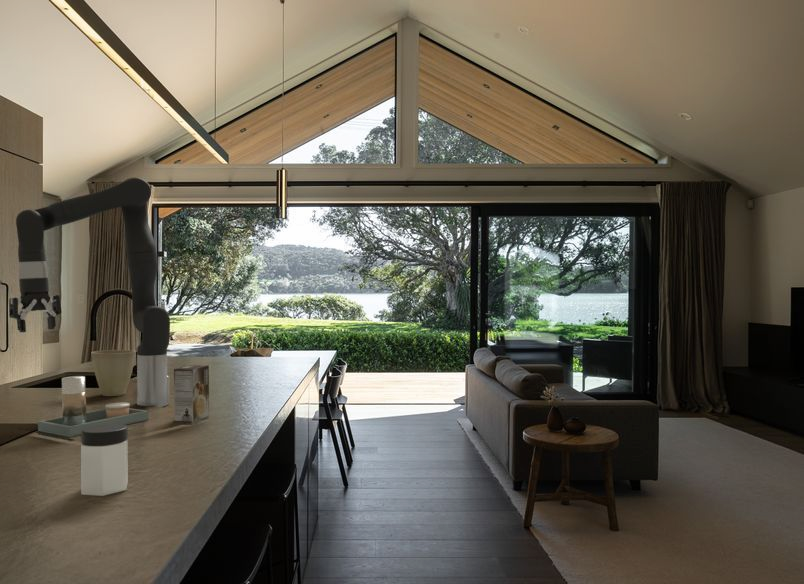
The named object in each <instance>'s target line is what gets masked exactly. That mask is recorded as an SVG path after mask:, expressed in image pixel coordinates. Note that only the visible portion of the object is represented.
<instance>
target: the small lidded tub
mask: <svg viewBox="0 0 804 584" xmlns="http://www.w3.org/2000/svg"><path fill="white" fill-rule="evenodd" d="M130 406H131V403H130V402H125V401H124V402H123V401H122V402H112V403H111V402H110V403H107V404H105V409H106V419H109V418H114V417H119V416H124V415H128V414H129V408H130Z"/></svg>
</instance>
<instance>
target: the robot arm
mask: <svg viewBox="0 0 804 584" xmlns="http://www.w3.org/2000/svg"><path fill="white" fill-rule="evenodd" d="M151 196H152V187H151V186H150V185H149V183H148V182H147V181H146V180H145V179H143V178H139V177H129V178H127V179H125V180H123V182H121V183H118V184H115V185H114V186H112V187H109V188H106V189H103V190H101V191H100V190H99V191H96V192H93V193H92V192H91V193H89V194H84V195H79V196H75V197H71V198H68V199H64V200H59V201H57V202H54V203H51V204H49V205H48V206H47V205H46V206H44V207H41V208H36V209H24V210H22V211H21V212H19V213H18V214H17V216H16V219H15V225H16V232H17V239H18V248H17V252H18V253H17V254H18V280H19V281H18V283H19V292H20V297H10V298H9V299H8V302H9V303H8V304H9V305H8V306H9V307H8V308H9V309H8V311H9V313H8V314H9V315H8V317H9V318H10V319H13V320H14V319H15V320H16V324H17V330H18V331H19V333H26V332H27V326H26V319H25V318H26V317H27V315H28V314H29V313H30V312H36V311H42V312H44V313H45V314H46V316H47V317H46V319H47V329H48V330H54V329H55V328H56V324H57V323H56V322H57V321H56V317H57V316H59V315H61V314H62V312H63V311H62V306H61V305H62V304H61V297H60V294H52V295H50V294H49V292H50V290H49V289H50V288H49V287H50V286H49V273H48V272H49V271H48V267H47V266H48V265H47V260H46V258H47V257H46V248H45V243H44V241H45V240H44V239H45V238H44V237H45V231H48V230H50V229H52V228H56V227H59V226H64V225H67V224H71V223H75V222H78V221H81V220H84V219H89V218H90V217H92V216H93V217H94V216H96V215H97V214H100V213H103V212H106V211H111V210H114V209H118V208H121V214H122V217H123V224H124V239H125V240H124V241H125V252H126V260H127V261H126V262H127V268H128V274H129V280H130V281H129V282H130V288H131V300H132V301H131V303H132V323H133V326H134V328H135V329H136V330H137V331H138V332H140V333H142V340H141V343H140V344H139V345H138V346H137V348H136V367H137V368H136V369H137V370H136V373H137V374H136V375H137V376H136V389H137V390H136V391H137V394H136V396H137V397H136V399H137V400H136V403H137V406H142V407H156V408H157V407H158V408H159V407H160V408H162V407H166V406H168V405H170V403H171V401H170V398H171V397H170V395H171V394H170V393H171V392H170V386H171V385H170V376H169V375H168V354H167V352H168V347H169V345H170V335H171V331H170V330H171V319H170V314H169V313H168V311H167V309H165V308H164V307H162V306H156V305H157V304H156V299H155V293H154V290H155V283H156V278H157V274H158V270H159V265H158V264H159V263H158V253H157V246H156V243H155V239H154V237H153V233H152V230H151V228H150V226H149V225H150V224H149V221H148V213H147V212H148V210H147V209H148V208H147V204H148V201H149V200H150V198H151ZM50 302H51V305H52V306H51V305H50V304H49V303H50ZM20 303H21V307H20V309H19V305H20Z"/></svg>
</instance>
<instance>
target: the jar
mask: <svg viewBox="0 0 804 584" xmlns="http://www.w3.org/2000/svg"><path fill="white" fill-rule="evenodd" d="M128 431H129V429H128V426H127V425H124V424H101V425H94V426H90V427H86V428H84V429H83V430H82V434H81V435H80V437H81V445H80V489H81V490H80V494H81V496H93V497H94V496H95V497H105V496H108V495H112V494H118V493H120V492H125V491H127V486H128V482H129V469H128V468H129V465H128V464H129V463H128V461H129V460H128V459H129V455H128V454H129V453H128V451H129V449H128V448H129V447H128V445H129V444H128V443H129V441H128V440H129V438H128V437H129V436H128V435H129V434H128Z"/></svg>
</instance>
